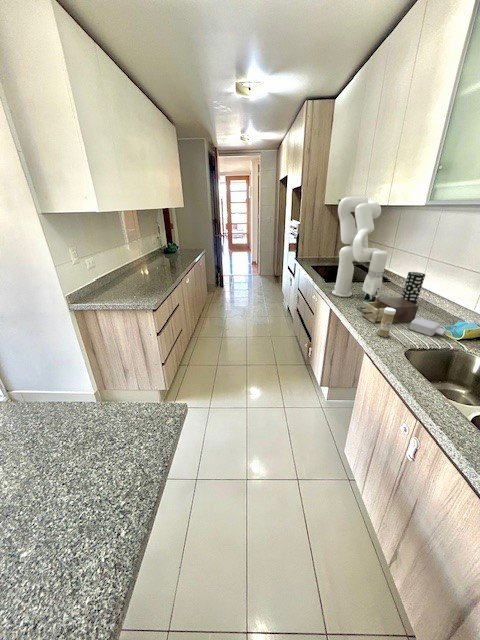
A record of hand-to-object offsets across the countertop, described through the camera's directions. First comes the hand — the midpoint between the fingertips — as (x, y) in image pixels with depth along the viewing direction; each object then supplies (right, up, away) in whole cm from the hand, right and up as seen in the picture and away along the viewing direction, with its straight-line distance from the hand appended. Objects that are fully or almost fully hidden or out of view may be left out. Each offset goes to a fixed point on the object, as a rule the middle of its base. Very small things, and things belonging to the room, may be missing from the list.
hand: (368, 304), depth 150 cm
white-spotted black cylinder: (+26, -1, +5) cm, 26 cm away
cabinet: (+8, -8, -10) cm, 15 cm away
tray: (-3, -8, -12) cm, 15 cm away
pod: (0, -3, +1) cm, 3 cm away
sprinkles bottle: (-7, -17, -28) cm, 33 cm away
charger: (+17, -16, -26) cm, 34 cm away
